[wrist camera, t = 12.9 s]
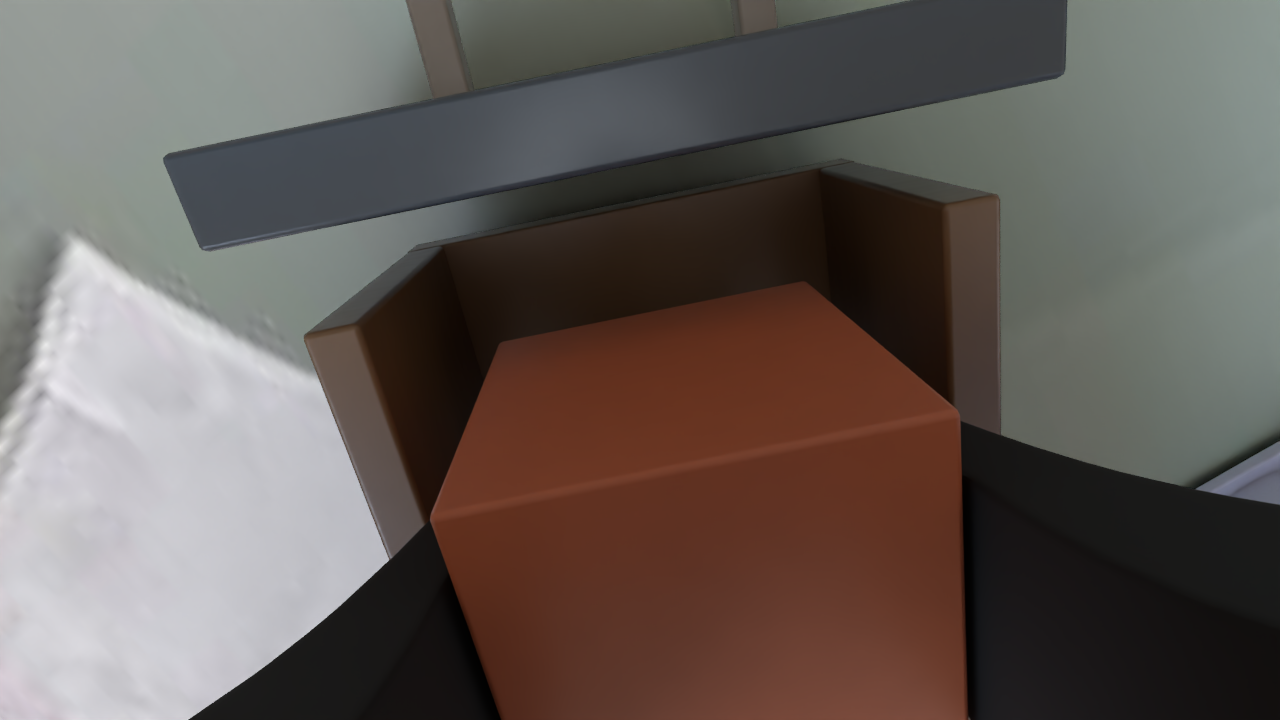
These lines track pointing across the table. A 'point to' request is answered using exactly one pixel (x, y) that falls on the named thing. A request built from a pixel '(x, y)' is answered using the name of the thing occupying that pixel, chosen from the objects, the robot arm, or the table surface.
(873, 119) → the table surface
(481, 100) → the drawer
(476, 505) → the block
